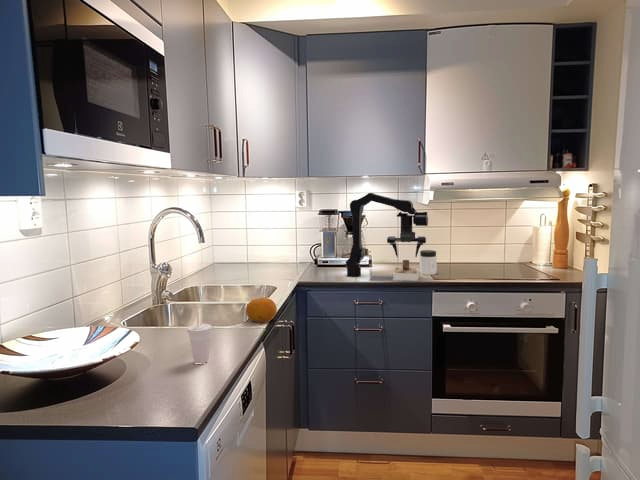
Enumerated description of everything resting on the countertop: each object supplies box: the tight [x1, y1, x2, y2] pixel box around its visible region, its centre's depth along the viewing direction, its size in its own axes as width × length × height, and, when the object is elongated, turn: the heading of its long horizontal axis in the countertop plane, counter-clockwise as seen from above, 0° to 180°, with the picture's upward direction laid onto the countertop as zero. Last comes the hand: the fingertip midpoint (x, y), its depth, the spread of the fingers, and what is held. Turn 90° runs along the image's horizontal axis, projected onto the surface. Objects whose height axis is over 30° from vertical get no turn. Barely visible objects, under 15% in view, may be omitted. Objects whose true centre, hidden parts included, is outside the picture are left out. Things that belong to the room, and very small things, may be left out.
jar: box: [419, 249, 438, 276], centre depth 240 cm, size 9×8×12 cm
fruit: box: [245, 297, 278, 323], centre depth 159 cm, size 10×10×8 cm
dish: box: [392, 268, 419, 282], centre depth 227 cm, size 12×12×4 cm
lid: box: [394, 259, 418, 274], centre depth 226 cm, size 10×10×6 cm
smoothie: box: [186, 311, 213, 364], centre depth 121 cm, size 6×6×14 cm
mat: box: [369, 275, 393, 282], centre depth 228 cm, size 11×11×1 cm
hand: (406, 257), depth 226 cm, fingers open, 9 cm apart
